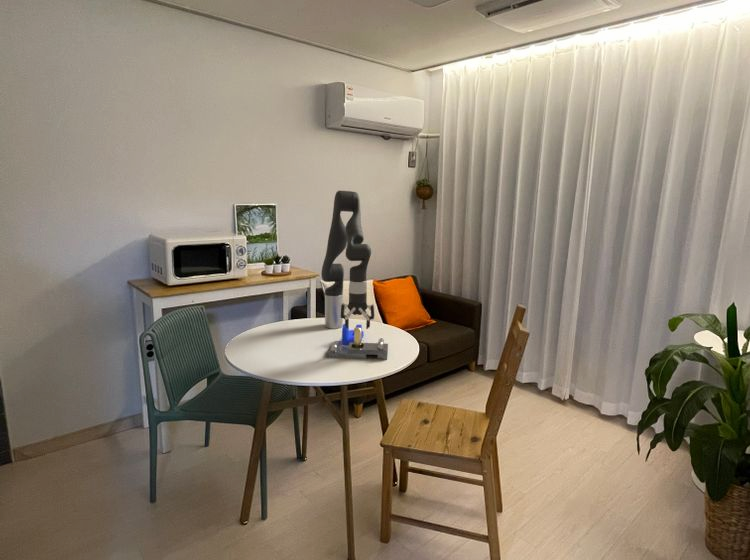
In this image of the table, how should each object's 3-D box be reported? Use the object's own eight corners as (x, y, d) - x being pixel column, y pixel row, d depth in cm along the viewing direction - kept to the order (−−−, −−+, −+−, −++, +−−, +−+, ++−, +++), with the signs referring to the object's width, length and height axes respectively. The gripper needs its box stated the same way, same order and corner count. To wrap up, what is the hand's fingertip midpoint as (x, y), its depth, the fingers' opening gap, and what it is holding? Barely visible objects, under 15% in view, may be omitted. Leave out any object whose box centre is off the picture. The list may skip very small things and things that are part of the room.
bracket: (359, 345, 203) (360, 327, 201) (342, 345, 204) (342, 326, 202) (364, 334, 221) (364, 316, 219) (348, 333, 221) (348, 316, 220)
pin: (354, 353, 193) (354, 327, 190) (361, 353, 192) (361, 327, 190) (353, 355, 190) (353, 329, 187) (360, 356, 190) (360, 329, 187)
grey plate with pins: (329, 350, 196) (329, 336, 195) (387, 352, 195) (388, 338, 194) (325, 357, 188) (325, 342, 186) (387, 359, 186) (387, 345, 185)
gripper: (375, 289, 189) (374, 326, 192) (342, 288, 190) (342, 324, 193) (374, 293, 182) (373, 331, 185) (339, 292, 183) (339, 330, 186)
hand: (357, 328), depth 189 cm, fingers open, 8 cm apart
